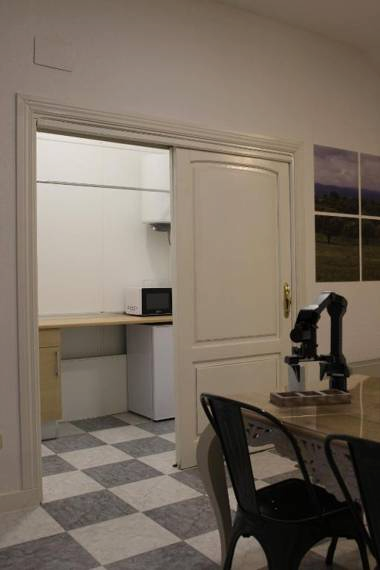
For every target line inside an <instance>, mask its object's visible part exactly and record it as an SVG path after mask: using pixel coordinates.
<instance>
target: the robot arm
mask: <svg viewBox="0 0 380 570" xmlns="http://www.w3.org/2000/svg"><path fill="white" fill-rule="evenodd" d="M348 302H349V301H348V300H347V299H346V297H344V296H343V295H341V294H338V293H336V292H335V291H330V290H329V291H326V290H325V291H324V290H323V291H322V292H321V294H320V295H319V296H318V298H316V299H315V300H314V301H313V303H311V304H310V305H308V306H304V307H302V308H301V309H300V310H299V312H298V314H297V317H296V319H295V322H294V326H293V328H292V329H291V331H290V333H289V339H290V341H292V343H294V344H299V347H298V346H297V345H296V346H291V355H285V356H284V357H283V361H284V363H285V364H287V366H288V365H289V366H291V367H292V369H293V371H294V373H295V376H296V379H297V382H300V365H301V364H299V363H304V362H305V363H306V362H307V363H308V362H309V363H310V362H312V363H313V362H318V364H319V365H318V366H319V381H320V382H323V380H324V377H325V374H326V377H329V380H328V389H338V390H340V391H343V392H346V393H349V391H350V390H348V379H349V378H351V370H350V368H349V366H348V364H347V358H346V357H345V354H344V353H343V319H344V316H345V315H346V313H347V308H348V306H349V305H348V304H349V303H348ZM325 309H326V312H327V314H328V316H329V318H330V334H329V335H330V337H329V338H330V340H329V341H330V342H329V344H330V347H329V348H330V349H329V353H320V354H318V348H319V344H318V339H317V338H318V336H317V335H318V330H317V329H319V325H318V323H319V321H320V320H321V318H322V317H321V314H322V312H323V311H324V310H325Z"/></svg>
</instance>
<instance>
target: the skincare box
mask: <svg viewBox="0 0 380 570" xmlns="http://www.w3.org/2000/svg"><path fill="white" fill-rule="evenodd" d="M299 365H300V382H297V379H296V376H295V373H294V371H293V369H292V367H291V366H289V365H288V364H287V379H288V381H287V382H288V392H289V391H307V389H306V371H305V370H306V367H305V365H301V364H299Z"/></svg>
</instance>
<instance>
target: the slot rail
mask: <svg viewBox="0 0 380 570" xmlns="http://www.w3.org/2000/svg"><path fill="white" fill-rule="evenodd" d="M269 400H270V401H271V402H273V403H275V404H276V405H277V406H280V407H291V406H292V407H294V406H308V405H309V406H310V405H313V406H314V405H327V404H328V405H329V404H342V403H344V404H345V403H346V404H347V403H352V394H351V393H349V392H343V391H340V390H338V389H329V388H328V389H312V390H309V389H306V391H289V390H288V391H273V392H269Z"/></svg>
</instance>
